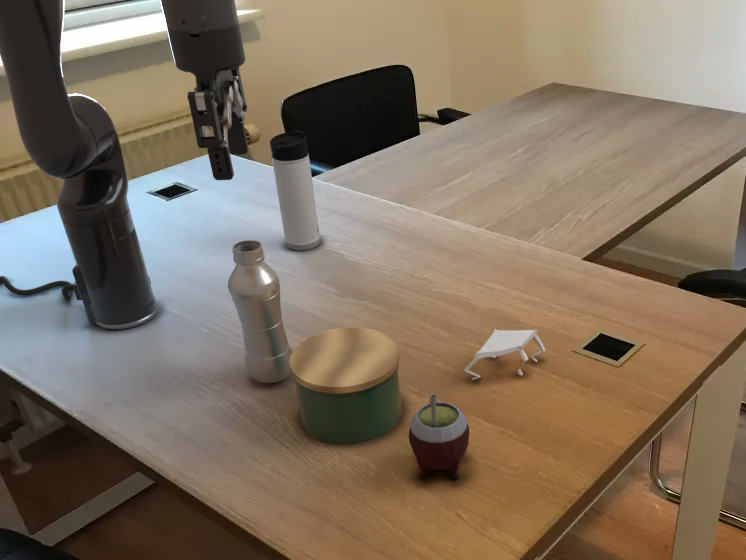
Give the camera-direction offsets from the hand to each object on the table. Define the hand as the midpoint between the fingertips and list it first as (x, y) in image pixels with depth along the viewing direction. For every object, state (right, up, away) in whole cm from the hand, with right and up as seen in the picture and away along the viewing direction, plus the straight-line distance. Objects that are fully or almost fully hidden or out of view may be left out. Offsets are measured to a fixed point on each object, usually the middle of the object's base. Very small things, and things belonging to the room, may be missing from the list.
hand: (232, 165), depth 96 cm
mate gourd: (+25, -37, +1) cm, 44 cm away
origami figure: (+32, -24, +18) cm, 44 cm away
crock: (+12, -30, +10) cm, 34 cm away
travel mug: (-4, -1, +52) cm, 52 cm away
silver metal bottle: (0, -25, +17) cm, 31 cm away
